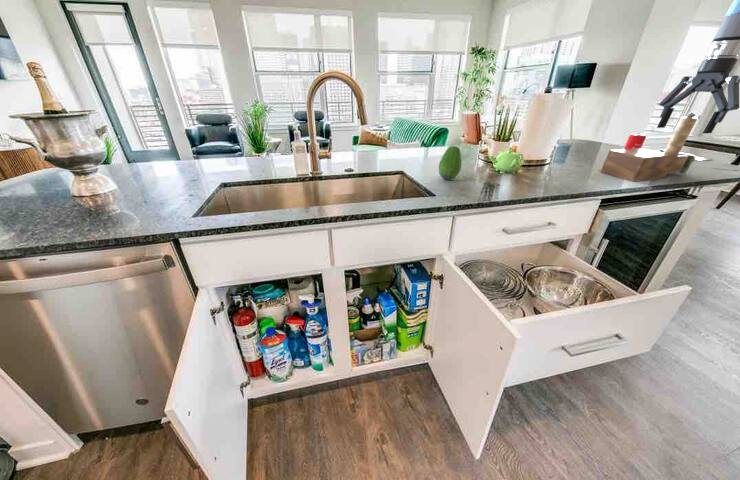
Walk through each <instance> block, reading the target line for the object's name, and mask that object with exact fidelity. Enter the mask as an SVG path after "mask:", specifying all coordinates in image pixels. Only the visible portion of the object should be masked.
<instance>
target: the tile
mask: <svg viewBox="0 0 740 480" xmlns="http://www.w3.org/2000/svg"><path fill="white" fill-rule="evenodd" d="M694 161H698V162H699V161H713V159H711V158H706V157H701V156H697V155H696V156H695V160H694Z"/></svg>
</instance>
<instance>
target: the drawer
mask: <svg viewBox="0 0 740 480" xmlns="http://www.w3.org/2000/svg"><path fill="white" fill-rule="evenodd" d="M664 150H665V149H662V148H659V149H657V150H656V149H654V150H653V151H658V152H664ZM695 156H697V155H696V154H691V153H685V152H681V151H680V152H679V154H678V156H676V157H675V159H674V161H673V163H672V165H671V167H670V169H669V170H668V172H667V174H666V175H672V174H673V175H674V174H682V175H685V174H687V172H688V170H689V169H690V167H691V165H692V164H693V162H695V161H696V160H695Z"/></svg>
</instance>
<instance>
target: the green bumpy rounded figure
mask: <svg viewBox="0 0 740 480" xmlns="http://www.w3.org/2000/svg"><path fill="white" fill-rule="evenodd" d="M488 159H489V160H490V161H491V162H492V165H493V168H494V169H495V171H497V172H498V171H499V174H505V172H509V173H510V174H512V175H513V174H516V171H518V170H519V169H520V167H522V166H523V159H524V154H523V153H520V152H519V153H518V152H515V151H514V150H513V149H507V151H505V150H499V154H498V155H497V156H496V158H495V156H494V155H493V154H490V155H488Z"/></svg>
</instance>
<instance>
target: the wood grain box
mask: <svg viewBox="0 0 740 480" xmlns="http://www.w3.org/2000/svg"><path fill="white" fill-rule="evenodd" d="M676 156H677V155H674V154H668V153H663V152H658V151H654V150H653V149H647V148H643V147H641V148H633V149H624V148H620V149H609V150H608V152H607V155H606V157H605V160H604V162H603V165H602V167H601V168H600V173H602V174H606V175H609V176H611V177H612V176H613V177H616V178H619V179H622V180H626V181H628V182H629V181H630V182H641V181H643V182H644V181H652V180H653V181H654V180H662V179H665V178H666V176H667V175H668V174H667V172H668V170H669V169H670V167H671V165H672V163H673V161H674V159H675V157H676Z"/></svg>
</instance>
